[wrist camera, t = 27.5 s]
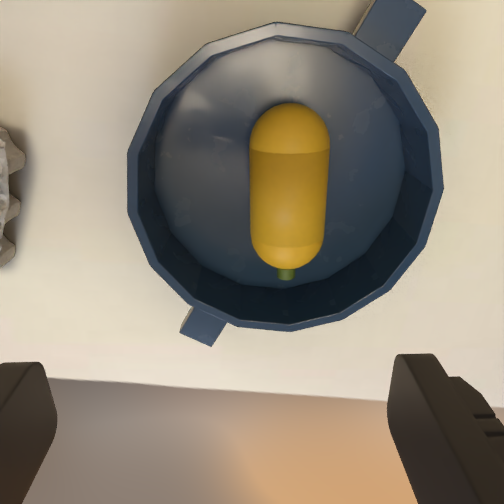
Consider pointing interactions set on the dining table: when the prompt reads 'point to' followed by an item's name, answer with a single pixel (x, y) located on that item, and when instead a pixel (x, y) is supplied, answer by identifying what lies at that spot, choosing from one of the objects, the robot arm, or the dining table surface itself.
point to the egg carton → (3, 203)
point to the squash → (288, 186)
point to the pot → (238, 171)
